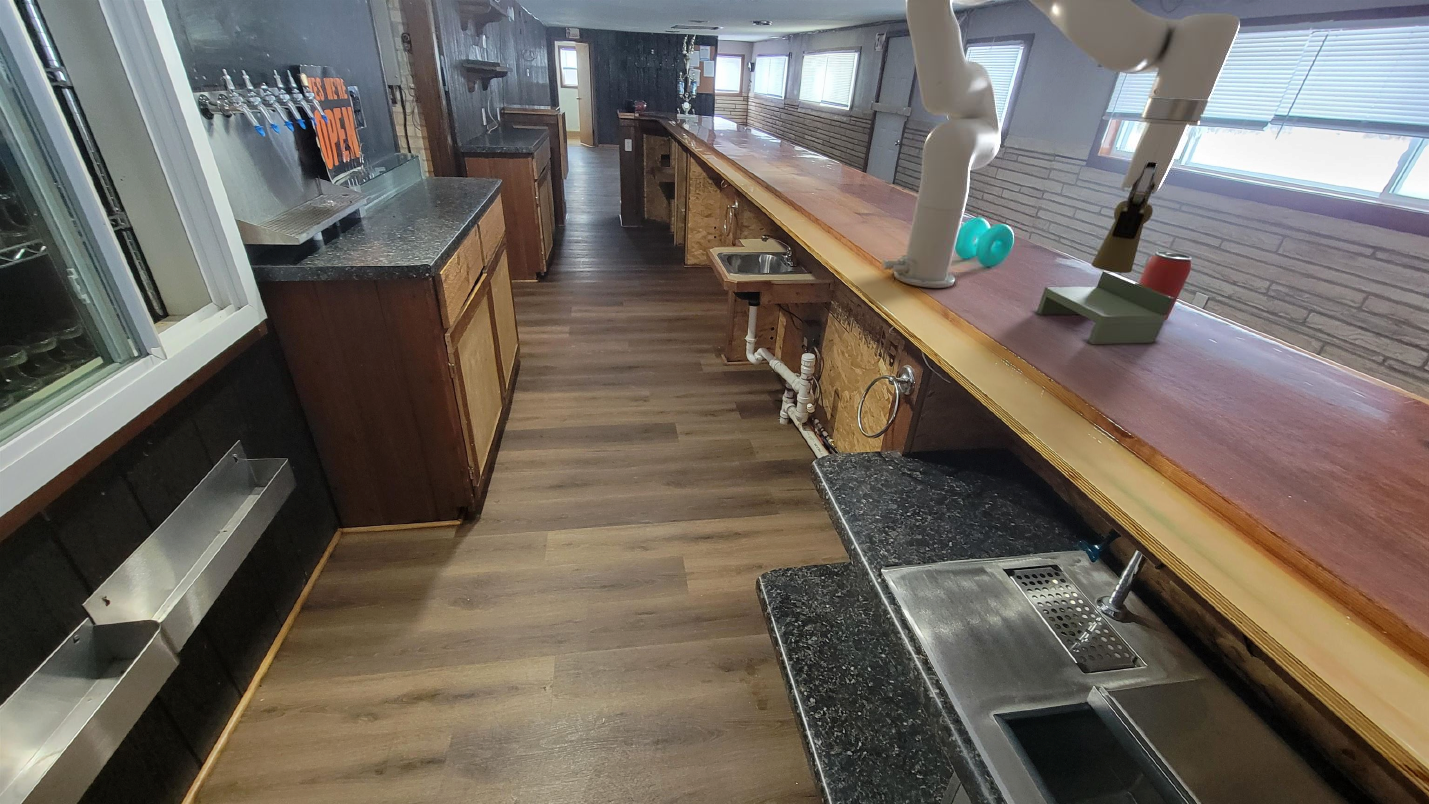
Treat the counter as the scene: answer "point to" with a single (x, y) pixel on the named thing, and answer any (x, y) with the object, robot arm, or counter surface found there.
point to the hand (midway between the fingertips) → (1124, 233)
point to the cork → (1120, 246)
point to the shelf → (1112, 309)
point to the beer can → (1167, 274)
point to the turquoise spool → (984, 241)
